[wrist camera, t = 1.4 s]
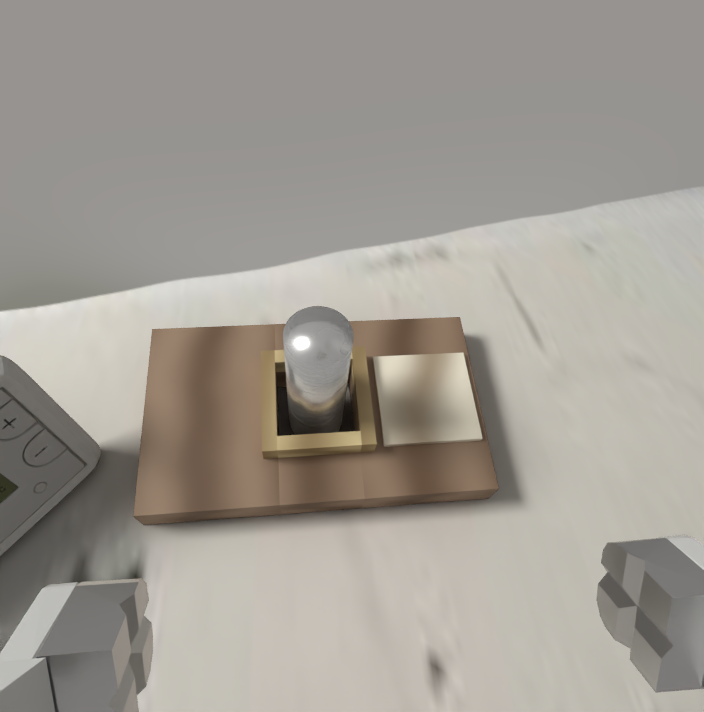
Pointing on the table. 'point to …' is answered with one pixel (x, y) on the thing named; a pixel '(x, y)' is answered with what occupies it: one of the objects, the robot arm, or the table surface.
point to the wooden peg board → (308, 451)
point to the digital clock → (36, 453)
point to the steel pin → (317, 368)
